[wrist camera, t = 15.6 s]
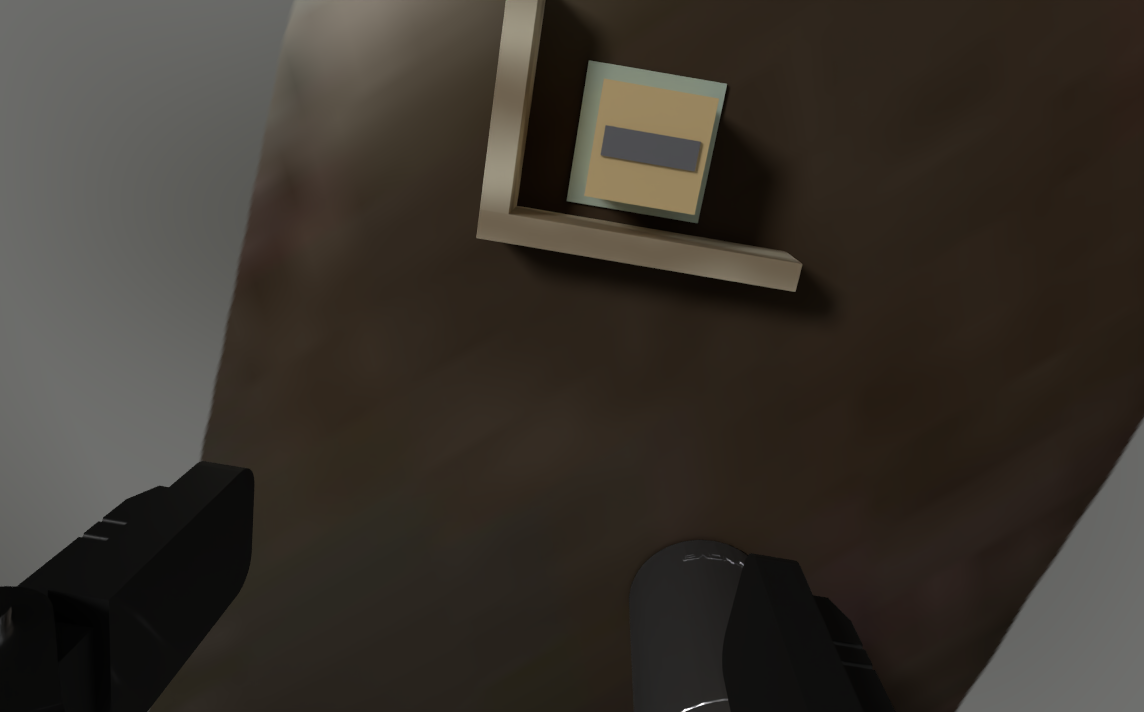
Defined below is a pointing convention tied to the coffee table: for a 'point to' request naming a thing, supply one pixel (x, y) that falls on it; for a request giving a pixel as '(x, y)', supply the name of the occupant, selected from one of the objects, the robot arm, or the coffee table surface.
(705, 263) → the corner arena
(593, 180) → the ochre cube
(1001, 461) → the coffee table surface
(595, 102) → the pad
